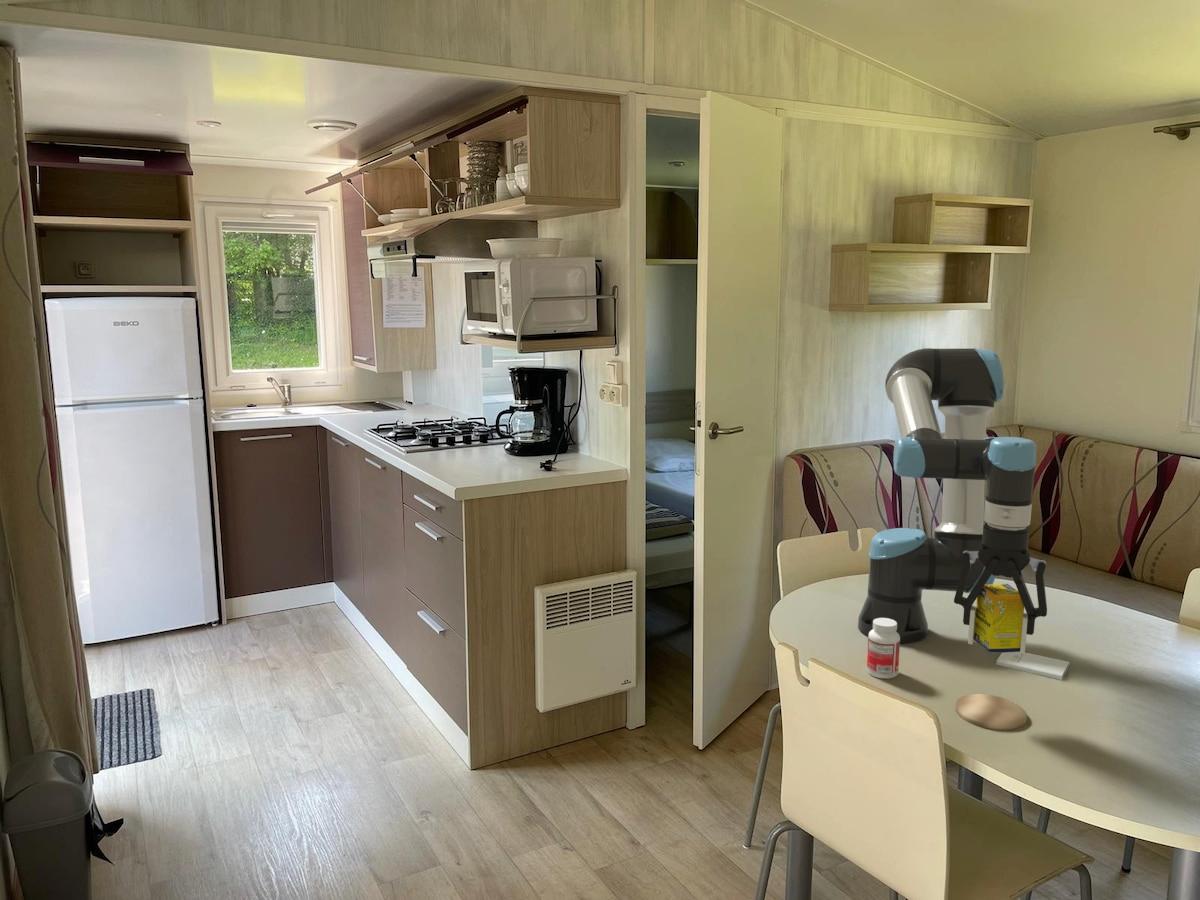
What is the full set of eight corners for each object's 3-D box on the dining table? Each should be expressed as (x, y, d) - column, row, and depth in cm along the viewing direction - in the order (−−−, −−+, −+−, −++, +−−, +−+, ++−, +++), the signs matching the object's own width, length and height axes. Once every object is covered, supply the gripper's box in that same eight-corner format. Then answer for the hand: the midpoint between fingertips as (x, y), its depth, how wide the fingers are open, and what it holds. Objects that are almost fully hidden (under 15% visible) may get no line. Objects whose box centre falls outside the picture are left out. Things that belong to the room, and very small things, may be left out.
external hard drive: (1061, 682, 179) (995, 667, 186) (1069, 668, 185) (1005, 653, 193) (1062, 675, 179) (996, 659, 186) (1070, 661, 185) (1006, 646, 192)
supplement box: (972, 640, 165) (976, 584, 163) (1003, 639, 166) (1008, 583, 164) (988, 653, 160) (993, 595, 158) (1021, 652, 160) (1026, 594, 158)
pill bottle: (882, 664, 186) (885, 614, 184) (904, 675, 181) (907, 624, 179) (860, 670, 184) (862, 619, 182) (881, 681, 178) (884, 629, 176)
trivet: (952, 720, 163) (952, 715, 162) (959, 694, 173) (959, 689, 173) (1024, 735, 157) (1025, 730, 157) (1027, 707, 168) (1027, 702, 167)
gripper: (941, 523, 160) (933, 643, 164) (1072, 537, 150) (1060, 664, 154) (946, 513, 166) (938, 629, 170) (1072, 526, 157) (1060, 648, 161)
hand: (996, 645), depth 162 cm, fingers closed on supplement box, 8 cm apart
